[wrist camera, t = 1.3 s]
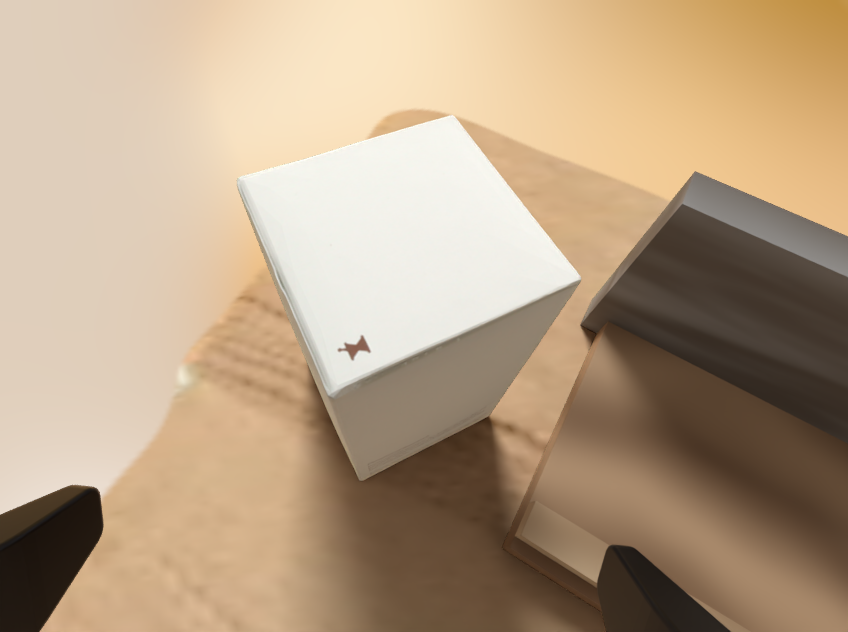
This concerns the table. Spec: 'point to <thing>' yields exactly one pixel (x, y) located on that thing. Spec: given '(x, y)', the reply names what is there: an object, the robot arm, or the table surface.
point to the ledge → (710, 419)
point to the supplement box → (406, 283)
